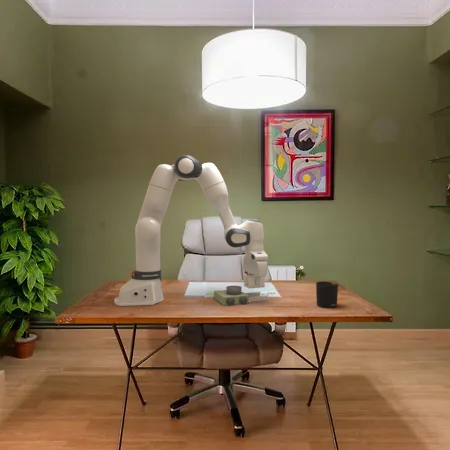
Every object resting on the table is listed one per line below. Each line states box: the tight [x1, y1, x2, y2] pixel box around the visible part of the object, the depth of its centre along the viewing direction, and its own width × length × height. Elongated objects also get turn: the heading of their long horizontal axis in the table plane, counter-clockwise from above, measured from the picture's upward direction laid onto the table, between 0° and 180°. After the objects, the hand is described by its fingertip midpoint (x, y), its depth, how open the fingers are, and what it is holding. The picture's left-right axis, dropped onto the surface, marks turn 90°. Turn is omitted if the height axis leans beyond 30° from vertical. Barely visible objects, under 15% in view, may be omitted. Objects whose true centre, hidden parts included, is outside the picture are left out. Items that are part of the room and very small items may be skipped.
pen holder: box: [315, 281, 339, 309], centre depth 180 cm, size 9×9×10 cm
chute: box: [243, 275, 266, 289], centre depth 192 cm, size 8×6×5 cm
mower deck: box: [213, 285, 269, 306], centre depth 190 cm, size 22×15×6 cm
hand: (254, 283), depth 192 cm, fingers closed on chute, 5 cm apart
